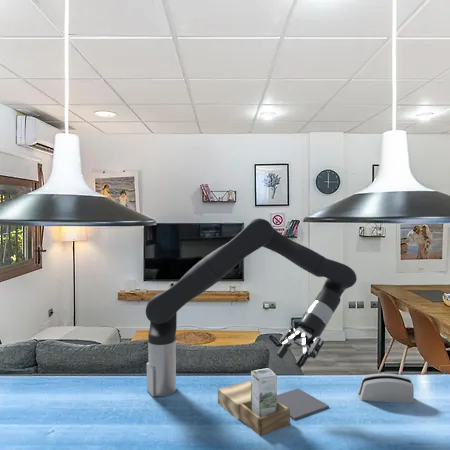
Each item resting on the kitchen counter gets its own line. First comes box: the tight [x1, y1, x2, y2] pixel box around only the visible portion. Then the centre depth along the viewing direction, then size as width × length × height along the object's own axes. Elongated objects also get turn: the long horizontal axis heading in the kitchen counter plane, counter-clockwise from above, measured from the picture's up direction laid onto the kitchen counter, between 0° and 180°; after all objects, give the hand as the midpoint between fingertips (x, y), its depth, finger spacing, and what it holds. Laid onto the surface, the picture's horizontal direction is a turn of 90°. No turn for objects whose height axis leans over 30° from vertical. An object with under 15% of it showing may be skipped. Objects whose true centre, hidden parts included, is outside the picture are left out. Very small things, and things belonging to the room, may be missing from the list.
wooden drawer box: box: [217, 380, 291, 436], centre depth 115 cm, size 22×12×4 cm, turn 31°
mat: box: [277, 388, 330, 421], centre depth 120 cm, size 14×14×1 cm
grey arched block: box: [357, 372, 415, 404], centre depth 123 cm, size 17×5×10 cm, turn 83°
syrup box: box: [250, 367, 278, 417], centre depth 110 cm, size 6×6×14 cm
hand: (288, 361), depth 115 cm, fingers open, 8 cm apart
